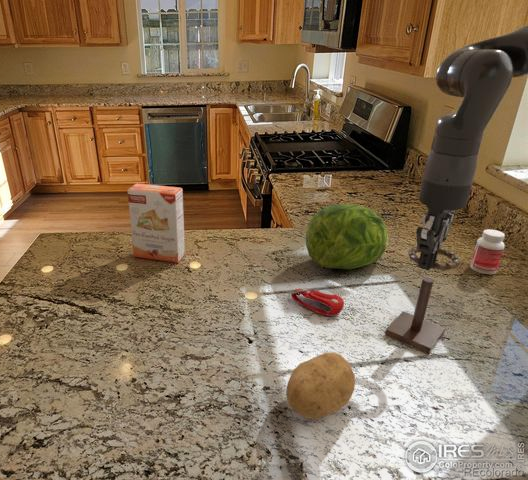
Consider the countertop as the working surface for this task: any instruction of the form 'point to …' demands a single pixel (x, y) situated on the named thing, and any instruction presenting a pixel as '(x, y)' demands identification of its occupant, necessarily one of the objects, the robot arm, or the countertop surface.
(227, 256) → the countertop surface
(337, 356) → the potato
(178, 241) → the cracker box
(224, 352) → the countertop surface
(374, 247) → the lettuce
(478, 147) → the robot arm
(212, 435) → the countertop surface
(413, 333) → the post
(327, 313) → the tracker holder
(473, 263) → the pill bottle
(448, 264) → the ring
